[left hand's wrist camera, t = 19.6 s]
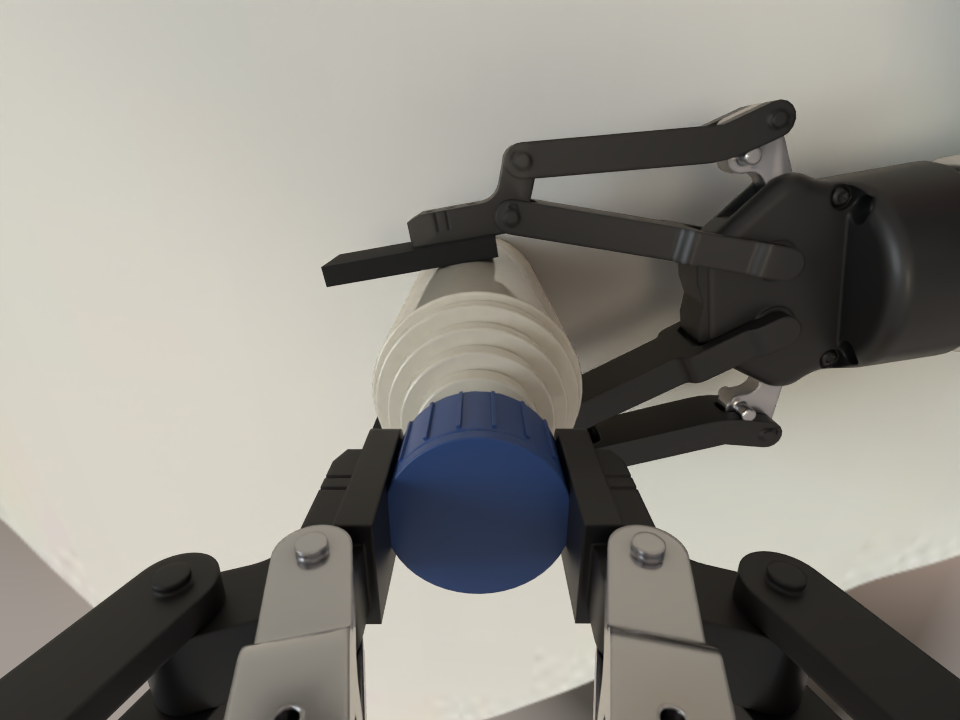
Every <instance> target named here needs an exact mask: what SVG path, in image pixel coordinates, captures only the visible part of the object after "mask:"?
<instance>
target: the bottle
mask: <svg viewBox="0 0 960 720" xmlns="http://www.w3.org/2000/svg"><path fill="white" fill-rule="evenodd" d="M496 244H497V250H498V256H499V257H497V258H491V259H485V260H479V261H474V262H468V263H461V264H456V265H451V266H445V267H439V268H433V269H428V270H422V271H420V273H419V275H418V277H417V279H416V281H415V283H414V285H413V287H412V289H411V291H410V293H409V295H408V297H407V299H406V301H405V303H404V305H403V307H402V309H401V311H400V312H399V314H398V316H397V318H396V320H395V322H394V324H393V326H392V328H391V330H390V332H389V334H388V336H387V338H386V340H385V342H384V344H383V346H382V348H381V351H380V353H379V355H378V358H377V361H376V365H375V369H374V374H373V383H372V387H373V400H374V406H375V410H376V413H377V416H378V419H379V422H380V424H381V427H382V429H402V430H403V436H404V434H405V432H406V430H407V426H408V423H409V421H413V420H414V419H415V418H416V417H417V416H418V415H419V414H420V413H421V412H422V411H423V410H424V409H426V408H427V407H428V406H430V403H431V402H434V403H435V402H437V401H439V400H441V399H443V398H445V397H447V396H451V395H454V394H459V392H461V391H463V393H464V392H470V391H483V392H491V391H495V393H500V394H503V395H506V396H509V397H511V398H513V399H516V400H518V401H520V402H521V400H522V401H524V402H525V404H526V405H527V406H529V407H530V408H531V409H532V410H534V411H535V412H536V413H537V414H538V415H539V416H540V417H541V418H542V419H543V420H544V419H546V421H547V423H548V427H549V429H550V431H551V433H552V434H553V436H554V432H555V429H556V428H573V427H574V425H575V421H576V419H577V416H578V413H579V409H580V406H581V400H582V391H583V389H582V374H581V368H580V364H579V361H578V358H577V355H576V352H575V350H574V348H573V346H572V344H571V342H570V340H569V338H568V336H567V335H566V333H565V331H564V329H563V327H562V325H561V323H560V321H559V319H558V317H557V315H556V313H555V311H554V309H553V307H552V306H551V304H550V302H549V300H548V298H547V296H546V294H545V292H544V290H543V288H542V286H541V284H540V282H539V280H538V278H537V277H536V275H535V273H534V271H533V269H532V267H531V265H530V263H529V262H528V261H527V259H526V258H525V257H524V256H523V254H522V253H521V252H520V251H518V250H517V249H516V248H515V247H514V246H512V245H510V244H509V243H507V242H505V241H503V240H501V239H498V238H496Z"/></svg>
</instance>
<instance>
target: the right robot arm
mask: <svg viewBox="0 0 960 720" xmlns="http://www.w3.org/2000/svg"><path fill="white" fill-rule="evenodd" d="M795 120H796V111H795V108H794V106H793V105H792V104H791V103H790V102H789V101H786V100H776V101H771V102H765V103H759V104H754V105H750V106H745V107H741V108H738V109H736V110H734V111H732V112H730V113H728V114H726V115H724V116H721V117H719V118H717V119H715V120H713V121H711V122H709V123H707V124H704V125H702V126H700V127H689V128H678V129H666V130H655V131H644V132H632V133H621V134H610V135H598V136H587V137H576V138H565V139H553V140H542V141H531V142H521V143H517V144H514V145H512V146H510V147H509V148H508V149H506V151H505V153H504V154H503V159H502V165H501V171H500V177H499V182H498V186H497V189H496V190H495V192H494V193H493V194H492V195H491V196H490V197H489V198H487V199H485V200H482V201H477V202H472V203H466V204H460V205H455V206H449V207H444V208H439V209H433V210H427V211H423V212H421V213H420V214H418V215H417V216H415V217H414V218H412V219H411V220H410V221H409V222H408V223H407V225H408V229H409V234H410V238H411V242H407V243H402V244H396V245H390V246H385V247H379V248H374V249H368V250H362V251H357V252H351V253H346V254H340V255H338V256H337V257H335V258H334V259H333V260H331V261H330V262H328V263H327V264H325V265H324V266H322V267H321V268H322V272H323V275H324V279H325V282H326V286H327V287H330V286H336V285H342V284H347V283H353V282H359V281H364V280H370V279H376V278H382V277H387V276H393V275H399V274H405V273H410V272H416V271H422V270H428V269H433V268H439V267H445V266H451V265H456V264H461V263H468V262H474V261H479V260H485V259H491V258H497V257H499V256H498V250H497V244H496V237H495V235H500V234H505V233H507V234H511V235H517V236H523V237H529V238H535V239H541V240H547V241H554V242H560V243H566V244H572V245H578V246H584V247H590V248H597V249H603V250H609V251H615V252H621V253H627V254H633V255H640V256H646V257H652V258H658V259H664V260H670V261H674V262H678V268H679V277H680V280H681V283H682V286H683V289H684V296H683V300H682V304H681V309H680V322H678V323H676V324H674V325H672V326H670V327H668V328H666V329H664V330H662V331H661V332H660V333H659V335H658V337H657V338H656V339H654V340H652V341H650V342H648V343H646V344H644V345H642V346H640V347H638V348H636V349H634V350H632V351H630V352H628V353H625V354H623V355H621V356H619V357H617V358H615V359H613V360H611V361H609V362H607V363H605V364H603V365H601V366H599V367H597V368H595V369H593V370H591V371H589V372H587V373H585V374H582V389H583V391H582V400H581V406H580V409H579V413H578V416H577V419H576V421H575V425H574V427H573V428H586V429H587V430H588V433H589V435H590V438H591V440H592V443H593V445H594V448H595V449H610V450H611V451H613V452H614V453H615V454H616V455H617V456H619V457H620V458H621V459H622V460H623V461H624V462H625V464H626V466H631V465H635V464H639V463H644V462H648V461H653V460H657V459H662V458H666V457H671V456H675V455H679V454H684V453H688V452H693V451H697V450H702V449H706V448H711V447H715V446H719V445H724V444H729V445H742V446H755V447H769V446H772V445H774V444H775V443H777V442H778V441H779V439H780V438H781V436H782V430H781V427H780V426H779V425H778V424H777V423H776V422H775V421H773V420H772V415H773V412H774V409H775V406H776V403H777V400H778V397H779V394H780V391H781V388H782V386H785V385H789V384H792V383H794V382H796V381H797V380H799V379H800V378H802V377H804V376H805V375H807V374H809V373H811V372H813V371H816V370H819V369H825V368H853V367H863V366H870V365H876V364H883V363H889V362H896V361H902V360H909V359H915V358H921V357H928V356H934V355H939V354H944V353H947V352H950V351H960V154H959V155H953V156H947V157H941V158H939V159H936V160H934V161H931V162H930V161H918V162H910V163H905V164H899V165H894V166H888V167H882V168H877V169H871V170H865V171H860V172H854V173H849V174H843V175H837V176H832V177H826V178H820V179H813V178H811V177H808V176H806V175H804V174H800V173H792V169H791V165H790V160H789V156H788V151H787V147H786V143H785V138H784V135H786V134H787V133H788V132H789V131H790V130H791V129H792V127H793V126H794V123H795ZM714 162H717V165H718V167H719V168H720V169H721V170H722V171H723V172H725V173H735V174H743V173H746V174H748V175H749V176H750V177H751V178H752V181H753V183H751V184H750V185H749V186H748V187H747V188H746V189H745V190H744V191H743V192H742V193H740V194H739V195H738V196H737V197H736V198H735V199H734V200H733V201H732V202H731V203H729V204H728V205H727V206H726V207H725V208H724V209H723V210H722V211H721V212H720V213H718V214H717V215H716V216H715V217H714V218H713V219H712V220H711V221H710V222H709V223H707V224H706V225H705V226H704V227H701V226H695V225H689V224H683V223H677V222H671V221H664V220H655V219H649V218H643V217H637V216H631V215H625V214H619V213H613V212H607V211H601V210H595V209H589V208H583V207H577V206H571V205H565V204H559V203H553V202H547V201H541V200H535V199H531V195H532V190H533V185H534V180H535V178H546V177H557V176H569V175H580V174H592V173H604V172H615V171H627V170H638V169H650V168H662V167H673V166H685V165H696V164H707V163H714ZM732 368H734V369H736V370H738V371H740V372H742V373H744V374H746V375H748V376H749V377H748V379H747V380H746V381H745V382H744V383H742V384H741V385H738V386H734V387H727V386H724V387H722V388H720V389H719V391H718V395H705V396H696V397H691V398H686V399H682V400H678V401H673V402H669V403H665V404H661V405H656V406H652V407H648V408H644V409H639V410H635V411H631V412H627V413H622V412H624V411H626V410H628V409H630V408H632V407H635V406H637V405H639V404H641V403H643V402H645V401H647V400H650V399H652V398H654V397H656V396H658V395H660V394H662V393H665V392H667V391H669V390H671V389H673V388H675V387H677V386H680V385H682V384H684V383H700V382H703V381H706V380H708V379H710V378H712V377H715V376H717V375H719V374H721V373H723V372H725V371H727V370H730V369H732ZM620 413H622V414H620ZM373 429H382V427H381V424H380V422H379V419H378V416H377V419H376V421H375V424H374V426H373Z"/></svg>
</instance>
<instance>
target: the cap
mask: <svg viewBox="0 0 960 720" xmlns="http://www.w3.org/2000/svg"><path fill="white" fill-rule="evenodd" d="M387 496H388V510H389V523H390V536H391V547H392V549H393V550H394V552H395V554H396V555H397V556H398V558H399V559H400V560H401V561H402V562H403V563H404V564H405V566H406V567H407V568H409V569H410V570H411V571H412V572H413V573H415V574H416V575H417V576H419V577H421V578H422V579H424V580H425V581H427V582H430V583H432V584H434V585H436V586H439V587H441V588H444V589H447V590H452V591H456V592H462V593H471V594H485V593H495V592H501V591H505V590H509V589H512V588H515V587H518V586H520V585H523V584H525V583H527V582H529V581H531V580H533V579H535V578H536V577H537V576H539V575H540V574H542V573H543V572H544V571H545V570H547V569H548V568H549V567H550V566H551V565H552V564H553V563H554V562H555V560H556V559H557V558H558V557H559V555H560V554H561V552H562V551H563V549H564V548H565V545H566V538H567V524H568V511H569V491H568V487H567V483H566V480H565V476H564V472H563V468H562V465H561V461H560V457H559V453H558V450H557V446H556V442H555V439H554V436H553V434H552V433H551V431H550V429H549V427H548V423H547V421H546V419H544V420H543V419H542V418H541V417H540V416H539V415H538V414H537V413H536V412H535V411H534V410H532V409H531V408H530V407H529V406H527V405H526V404H525V402H524V401H522V400H521V402H520V401H518V400H516V399H513V398H511V397H509V396H506V395H503V394H500V393H495V391H491V392H483V391H470V392H464V393H463V391H461V392H459V394H454V395H451V396H447V397H445V398H443V399H441V400H439V401H437V402H435V403H434V402H431V403H430V406H428V407H427V408H426V409H424V410H423V411H422V412H421V413H420V414H419V415H418V416H417V417H416V418H415V419H414V420H413V421H409V423H408V426H407V430H406V432H405V434H404V436H403V438H402V442H401V445H400V449H399V452H398V456H397V459H396V463H395V467H394V470H393V474H392V477H391V481H390V484H389V488H388V492H387Z"/></svg>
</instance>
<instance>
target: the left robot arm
mask: <svg viewBox="0 0 960 720" xmlns="http://www.w3.org/2000/svg"><path fill="white" fill-rule="evenodd" d="M402 438H403V430H402V429H371V430H370V431H369V434H368V436H367V439H366V441H365V444H364V446H363V449H348V450H346V451H345V452H344V453H343V454H341V455H340V456H339V457H338V458H337V459H335V460H334V461H333V462H332V465H331V467H330V469H329V471H328V473H327V475H326V478H325V479H324V481H323V483H322V485H321V490H319V491H318V494H317V496H316V498H315V500H314V502H313V504H312V506H311V508H310V510H309V512H308V514H307V516H306V518H305V521H304V523H303V525H302V527H301V529H299V530H297V531H295V532H293V533H291V534H289V535H288V536H286V537H285V538H283V539H282V540H281V541H280V542H279V543H278V544H277V546H276V547H275V548H274V550H273V552H272V555H271V558H269V559H267V560H265V561H262V562H259V563H256V564H253V565H249V566H245V567H240V568H236V569H232V570H227V571H223V572H220V568H219V564H218V562H217V561H216V559H214V558H213V557H212V556H210V555H207V554H203V553H185V554H179V555H175V556H172V557H169V558H166V559H164V560H161V561H159V562H157V563H155V564H153V565H152V566H150V567H148V568H147V569H145V570H144V571H142V572H141V573H140V574H138V575H137V576H136V577H134V578H133V579H132V580H131V581H129V582H128V583H127V584H125V585H124V586H123V587H121V588H120V589H119V590H117V591H116V592H115V593H113V594H112V595H111V596H109V597H108V598H107V599H105V600H104V601H103V602H101V603H100V604H99V605H97V606H96V607H95V608H93V609H92V610H91V611H90V612H88V613H87V614H86V615H84V616H83V617H82V618H80V619H79V620H78V621H76V622H75V623H74V624H72V625H71V626H70V627H68V628H67V629H66V630H64V631H63V632H62V633H60V634H59V635H58V636H56V637H55V638H54V639H53V640H51V641H50V642H49V643H47V644H46V645H45V646H43V647H42V648H41V649H39V650H38V651H37V652H35V653H34V654H33V655H31V656H30V657H29V658H27V659H26V660H25V661H23V662H22V663H21V664H19V665H18V666H17V667H16V668H14V669H13V670H12V671H10V672H9V673H8V674H6V675H5V676H4V677H2V678H1V679H0V720H107V719H108V718H109V717H110V716H111V715H112V714H113V713H114V712H115V711H116V710H117V709H118V708H119V707H120V706H121V705H122V704H123V703H124V702H125V701H126V700H127V699H128V698H129V697H130V696H131V695H132V694H134V693H135V692H136V691H137V690H138V689H139V688H140V687H141V686H142V685H143V684H144V683H145V682H146V681H147V680H148V683H149V686H150V689H149V690H148V691H147V692H146V693H145V694H144V695H143V696H142V697H141V698H140V699H139V700H138V701H137V702H136V703H135V704H133V706H131V707H130V708H129V709H128V710H127V711H126V712H125V713H124V714H123V715H122V716H121V717H120V718H119V719H118V720H367V713H366V681H365V654H364V645H363V633H364V629H365V625H366V624H381V623H382V619H383V614H384V609H385V604H386V599H387V595H388V590H389V585H390V580H391V576H392V571H393V566H394V561H395V557H396V554H395V552H394V550H393V549H392V547H391V536H390V523H389V510H388V496H387V492H388V488H389V484H390V481H391V477H392V474H393V470H394V467H395V463H396V459H397V456H398V452H399V449H400V445H401V442H402ZM554 439H555V442H556V446H557V450H558V453H559V457H560V461H561V465H562V468H563V472H564V476H565V480H566V483H567V487H568V491H569V511H568V524H567V538H566V545H565V548H564V549H563V551H562V552H561V555H562V560H563V565H564V570H565V575H566V580H567V585H568V590H569V595H570V600H571V605H572V609H573V614H574V619H575V623H591V627H592V631H593V635H594V639H595V643H596V654H595V681H594V713H593V720H842V719H841V718H840V717H839V716H838V715H837V714H836V713H835V712H834V711H833V710H832V709H831V708H830V707H829V706H828V705H827V704H825V703H824V702H823V701H822V700H821V699H820V698H819V697H818V696H817V695H816V694H815V693H814V692H813V691H812V690H811V689H810V688H809V687H808V686H807V685H806V684H807V681H808V678H809V677H810V678H811V679H812V680H813V681H814V682H815V683H816V684H817V685H818V686H819V687H820V688H821V689H822V690H823V691H824V692H825V693H826V694H827V695H829V696H830V697H831V698H832V699H833V700H834V701H835V702H836V703H837V704H838V705H839V706H840V707H841V708H842V709H843V710H844V711H845V712H846V713H847V714H848V715H849V716H850V717H851V718H852V719H853V720H960V679H959V678H958V677H956V676H955V675H954V674H952V673H951V672H950V671H948V670H947V669H946V668H944V667H943V666H942V665H940V664H939V663H938V662H937V661H935V660H934V659H932V658H931V657H930V656H929V655H927V654H926V653H925V652H923V651H922V650H921V649H919V648H918V647H917V646H915V645H914V644H913V643H911V642H910V641H909V640H907V639H906V638H905V637H904V636H902V635H901V634H899V633H898V632H897V631H895V630H894V629H893V628H892V627H890V626H889V625H888V624H886V623H885V622H884V621H882V620H881V619H880V618H878V617H877V616H876V615H874V614H873V613H872V612H870V611H869V610H868V609H866V608H865V607H864V606H863V605H861V604H860V603H859V602H857V601H856V600H855V599H853V598H852V597H851V596H849V595H848V594H847V593H845V592H844V591H843V590H841V589H840V588H839V587H837V586H836V585H835V584H833V583H832V582H831V581H829V580H828V579H827V578H826V577H824V576H823V575H822V574H820V573H819V572H818V571H816V570H815V569H813V568H812V567H810V566H809V565H807V564H806V563H804V562H802V561H800V560H798V559H796V558H793V557H790V556H788V555H784V554H781V553H776V552H769V551H759V552H753V553H750V554H748V555H746V556H745V557H743V558H742V560H741V561H740V564H739V567H738V572H736V571H731V570H727V569H723V568H718V567H714V566H710V565H705V564H702V563H698V562H696V561H693V560H690V559H689V555H688V552H687V550H686V548H685V547H684V546H683V544H682V543H681V542H680V541H679V540H678V539H677V538H675V537H674V536H672V535H671V534H669V533H667V532H665V531H663V530H661V529H658V528H656V527H655V525H654V523H653V521H652V519H651V517H650V515H649V513H648V510H647V508H646V506H645V504H644V502H643V500H642V498H641V496H640V493H639V491H638V490H636V485H635V483H634V481H633V479H632V478H631V474H630V472H629V470H628V468H627V466H626V464H625V462H624V461H623V460H622V459H621V458H620V457H619V456H617V455H616V454H615V453H614V452H613V451H611V450H610V449H595V448H594V445H593V443H592V440H591V438H590V435H589V433H588V430H587V429H586V428H556V429H555V432H554Z"/></svg>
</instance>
